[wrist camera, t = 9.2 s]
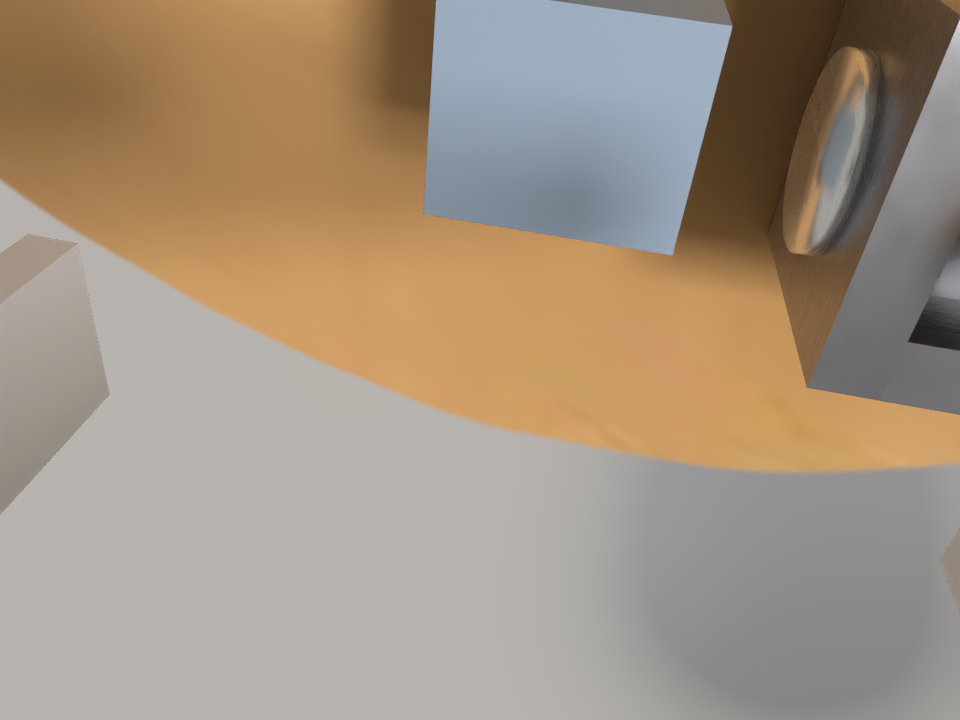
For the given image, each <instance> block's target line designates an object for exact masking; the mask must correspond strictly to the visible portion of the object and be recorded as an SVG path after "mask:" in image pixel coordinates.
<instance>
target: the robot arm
mask: <svg viewBox="0 0 960 720" xmlns="http://www.w3.org/2000/svg"><path fill="white" fill-rule="evenodd" d="M108 396H109V391H108V385H107V380H106V376H105V372H104V366H103V361H102V357H101V352H100V347H99V342H98V338H97V333H96V328H95V323H94V319H93V314H92V309H91V304H90V300H89V295H88V290H87V285H86V280H85V276H84V271H83V266H82V262H81V257H80V252H79V247H78V244H77V243H72V242H67V241H61V240H55V239H50V238H45V237H39V236H34V235H26V236H25V237H23V238H22V239H21V240H19V241H18V242H16V243H15V244H13V245H12V246H10V247H9V248H8V249H6V250H5V251H3V252H2V253H0V514H1V513H2V512H3V511H4V510H5V509H6V508H7V506H8V505H9V504H10V503H11V502H12V501H13V500H14V499H15V498H16V497H17V496H18V495H19V493H20V492H21V491H22V490H23V489H24V488H25V487H26V486H27V485H28V484H29V483H30V481H31V480H32V479H33V478H34V477H35V476H36V475H37V474H38V472H39V471H40V470H41V469H42V468H43V467H44V466H45V465H46V464H47V463H48V462H49V461H50V459H51V458H52V457H53V456H54V455H55V454H56V453H57V452H58V451H59V450H60V448H61V447H62V446H63V445H64V444H65V443H66V442H67V441H68V440H69V439H70V437H71V436H72V435H73V434H74V433H75V432H76V431H77V430H78V429H79V427H80V426H81V425H82V424H83V423H84V422H85V421H86V420H87V419H88V418H89V416H90V415H91V414H92V413H93V412H94V411H95V410H96V409H97V408H98V407H99V405H100V404H101V403H102V402H103V401H104V400H105V399H106V398H107V397H108ZM940 561H941V564H942V567H943V570H944V572H945V575H946V578H947V580H948V583H949V586H950V589H951V591H952V594H953V597H954V599H955V602H956V605H957V608H958V610H959V613H960V529H959V530H958V532H957V533H956V535H955V536H954V538H953V539H952V541H951V542H950V544H949V545H948V547H947V549H946V550H945V552H944V553H943V555H942V556H941V558H940Z"/></svg>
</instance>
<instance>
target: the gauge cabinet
mask: <svg viewBox="0 0 960 720" xmlns="http://www.w3.org/2000/svg"><path fill="white" fill-rule="evenodd" d="M768 237H769V241H770V244H771V248H772V252H773V256H774V260H775V264H776V268H777V272H778V276H779V280H780V284H781V288H782V292H783V296H784V300H785V303H786V307H787V311H788V315H789V319H790V323H791V327H792V331H793V335H794V339H795V343H796V347H797V351H798V355H799V358H800V362H801V366H802V370H803V374H804V378H805V382H806V386H807V388H812V389H818V390H823V391H829V392H835V393H840V394H846V395H851V396H857V397H863V398H868V399H874V400H880V401H885V402H891V403H896V404H902V405H908V406H913V407H919V408H924V409H930V410H936V411H941V412H947V413H952V414H958V415H960V0H846V1H845V4H844V7H843V10H842V13H841V16H840V19H839V22H838V25H837V28H836V31H835V34H834V37H833V40H832V43H831V46H830V49H829V52H828V55H827V58H826V61H825V64H824V67H823V70H822V73H821V75H820V77H819V79H818V81H817V83H816V85H815V87H814V90H813V92H812V94H811V97H810V99H809V102H808V104H807V107H806V110H805V113H804V115H803V118H802V121H801V124H800V128H799V131H798V134H797V138H796V141H795V145H794V149H793V153H792V157H791V161H790V166H789V171H788V175H787V178H786V181H785V184H784V187H783V190H782V193H781V196H780V199H779V202H778V205H777V208H776V211H775V214H774V217H773V220H772V223H771V226H770V229H769V232H768Z"/></svg>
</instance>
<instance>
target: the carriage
mask: <svg viewBox="0 0 960 720" xmlns="http://www.w3.org/2000/svg"><path fill="white" fill-rule="evenodd" d="M732 27H733V26H732V22H731V19H730V16H729V13H728V10H727V7H726V4H725V1H724V0H436V11H435V27H434V44H433V61H432V78H431V95H430V112H429V129H428V146H427V162H426V179H425V196H424V213H423V214H427V215H433V216H439V217H445V218H451V219H457V220H463V221H469V222H475V223H481V224H487V225H493V226H499V227H505V228H511V229H517V230H523V231H529V232H535V233H541V234H547V235H553V236H559V237H565V238H571V239H577V240H583V241H589V242H595V243H601V244H607V245H613V246H619V247H625V248H631V249H637V250H643V251H649V252H655V253H661V254H667V255H673V251H674V248H675V244H676V240H677V236H678V232H679V229H680V225H681V221H682V217H683V213H684V210H685V206H686V202H687V198H688V194H689V191H690V187H691V183H692V179H693V175H694V172H695V168H696V164H697V160H698V156H699V152H700V149H701V145H702V141H703V137H704V133H705V130H706V126H707V122H708V118H709V114H710V111H711V107H712V103H713V99H714V95H715V92H716V88H717V84H718V80H719V76H720V73H721V69H722V65H723V61H724V57H725V53H726V50H727V46H728V42H729V38H730V34H731V31H732Z"/></svg>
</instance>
